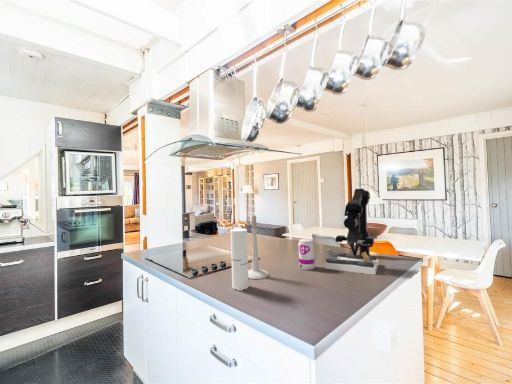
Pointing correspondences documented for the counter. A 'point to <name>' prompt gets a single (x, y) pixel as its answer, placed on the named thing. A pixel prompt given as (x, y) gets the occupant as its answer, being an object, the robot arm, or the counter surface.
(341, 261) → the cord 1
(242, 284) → the cylindrical container
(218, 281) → the counter surface
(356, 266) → the white tray
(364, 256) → the orange brick
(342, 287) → the counter surface
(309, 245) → the supplement can
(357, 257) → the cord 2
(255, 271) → the candlestick
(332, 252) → the paddle grey
